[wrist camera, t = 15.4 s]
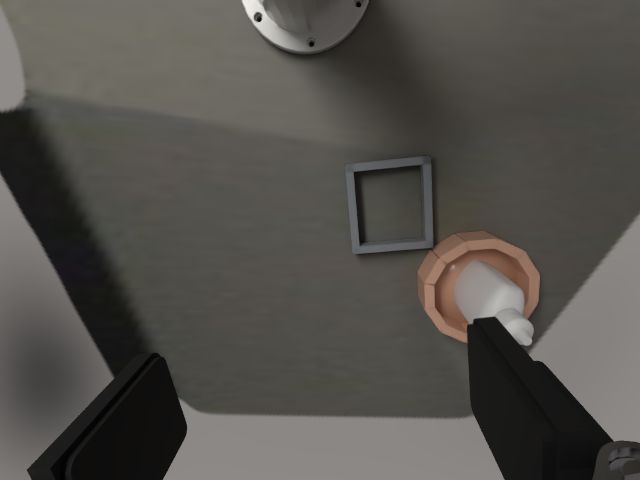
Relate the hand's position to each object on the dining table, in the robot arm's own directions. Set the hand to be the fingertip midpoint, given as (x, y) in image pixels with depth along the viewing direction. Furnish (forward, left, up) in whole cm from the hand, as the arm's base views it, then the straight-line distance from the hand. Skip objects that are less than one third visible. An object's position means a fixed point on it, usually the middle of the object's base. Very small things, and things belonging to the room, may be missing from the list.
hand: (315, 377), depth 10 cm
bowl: (+9, +14, -28) cm, 33 cm away
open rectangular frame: (0, +6, -28) cm, 29 cm away
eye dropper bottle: (+9, +14, -28) cm, 32 cm away
